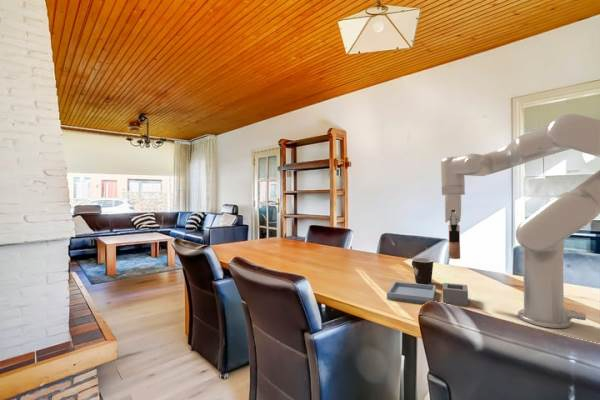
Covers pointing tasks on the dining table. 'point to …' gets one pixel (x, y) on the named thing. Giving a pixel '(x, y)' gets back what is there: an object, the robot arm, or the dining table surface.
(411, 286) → the tray
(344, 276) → the dining table surface
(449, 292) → the socket block
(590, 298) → the dining table surface
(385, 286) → the dining table surface
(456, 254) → the dowel
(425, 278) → the coffee mug
